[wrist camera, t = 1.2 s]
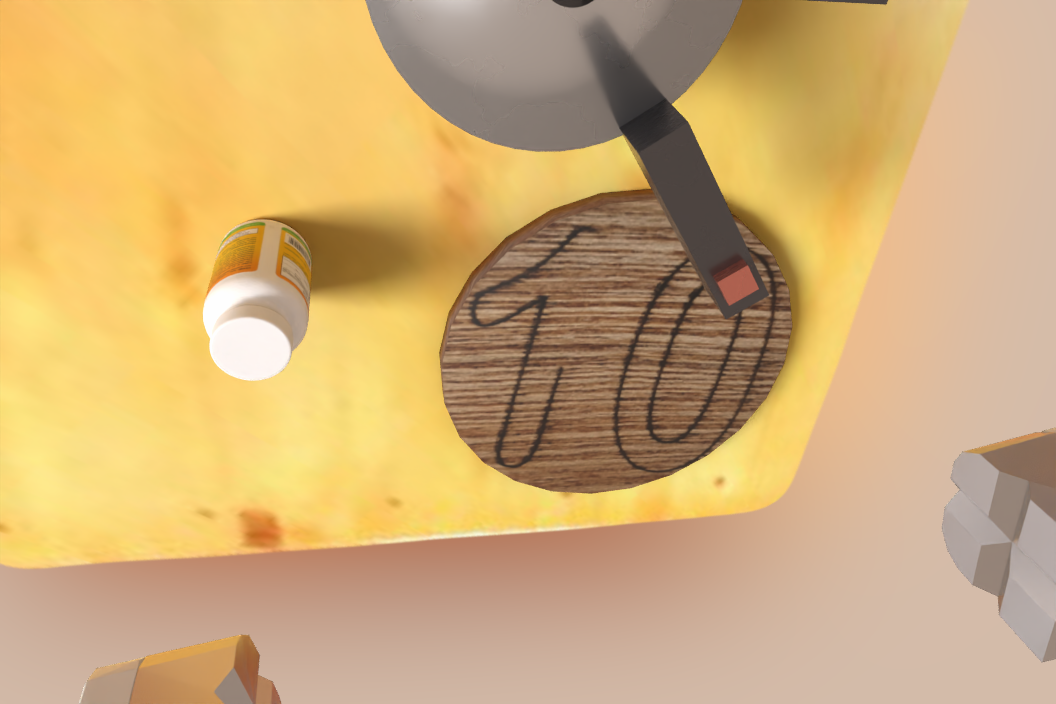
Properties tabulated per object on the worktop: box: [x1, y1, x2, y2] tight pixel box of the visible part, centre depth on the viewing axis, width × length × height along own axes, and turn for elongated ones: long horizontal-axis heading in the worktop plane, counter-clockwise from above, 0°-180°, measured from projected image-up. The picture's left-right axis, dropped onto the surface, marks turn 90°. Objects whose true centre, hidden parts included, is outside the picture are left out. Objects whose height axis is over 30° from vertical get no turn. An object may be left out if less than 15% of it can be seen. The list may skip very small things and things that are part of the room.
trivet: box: [439, 189, 792, 493], centre depth 57 cm, size 25×25×2 cm
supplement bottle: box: [203, 219, 312, 380], centre depth 45 cm, size 5×5×10 cm
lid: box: [366, 0, 769, 320], centre depth 34 cm, size 16×26×5 cm, turn 31°
